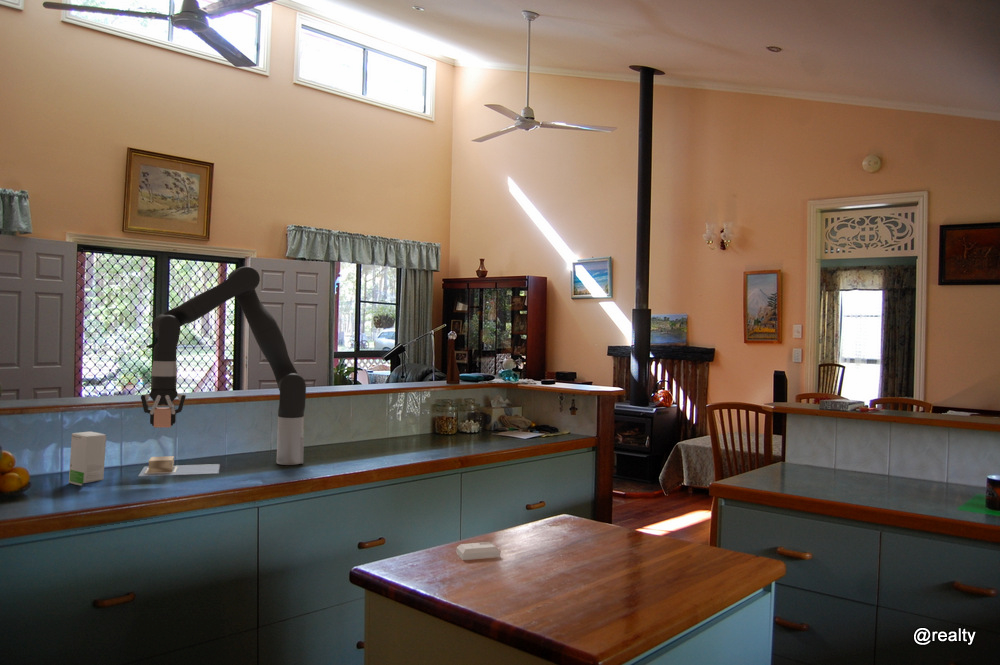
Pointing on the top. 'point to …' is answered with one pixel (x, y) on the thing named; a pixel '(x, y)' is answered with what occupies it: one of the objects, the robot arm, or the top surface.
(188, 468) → the board
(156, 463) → the beech base block
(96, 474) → the skincare box
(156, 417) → the terracotta block
